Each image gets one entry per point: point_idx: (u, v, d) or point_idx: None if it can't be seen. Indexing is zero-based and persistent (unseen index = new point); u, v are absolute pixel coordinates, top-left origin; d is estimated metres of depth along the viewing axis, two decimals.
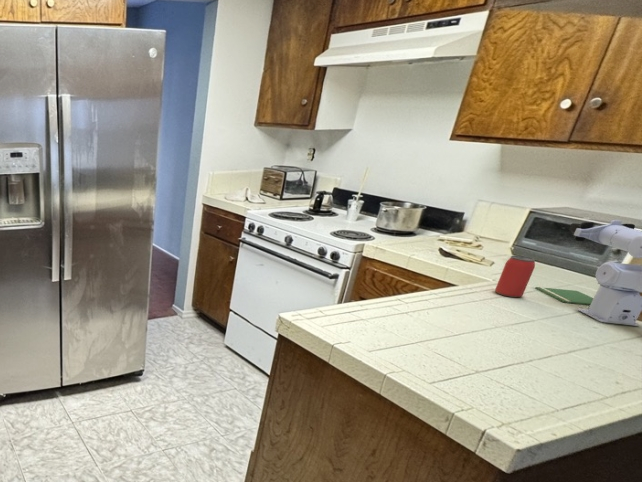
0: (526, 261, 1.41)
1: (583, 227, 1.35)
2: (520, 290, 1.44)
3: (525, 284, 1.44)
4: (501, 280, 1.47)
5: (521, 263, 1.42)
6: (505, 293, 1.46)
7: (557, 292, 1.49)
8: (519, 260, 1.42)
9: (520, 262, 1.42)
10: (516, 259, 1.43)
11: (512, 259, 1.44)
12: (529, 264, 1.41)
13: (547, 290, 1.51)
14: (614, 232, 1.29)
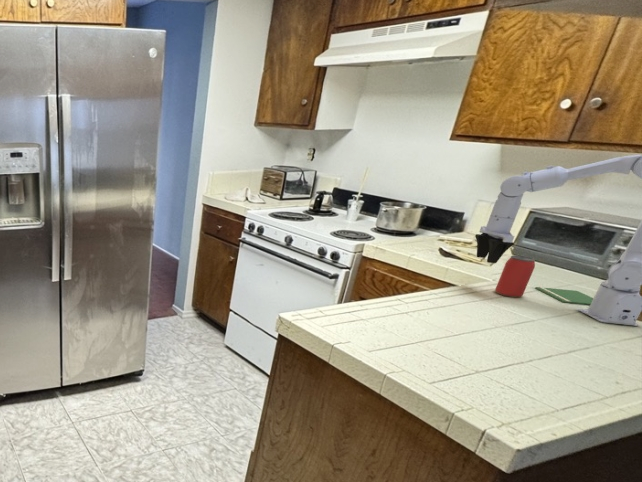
0: (526, 261, 1.41)
1: (498, 240, 1.40)
2: (520, 290, 1.44)
3: (525, 284, 1.44)
4: (501, 280, 1.47)
5: (521, 263, 1.42)
6: (505, 293, 1.46)
7: (557, 292, 1.49)
8: (519, 260, 1.42)
9: (520, 262, 1.42)
10: (516, 259, 1.43)
11: (512, 259, 1.44)
12: (529, 264, 1.41)
13: (547, 290, 1.51)
14: (500, 218, 1.40)
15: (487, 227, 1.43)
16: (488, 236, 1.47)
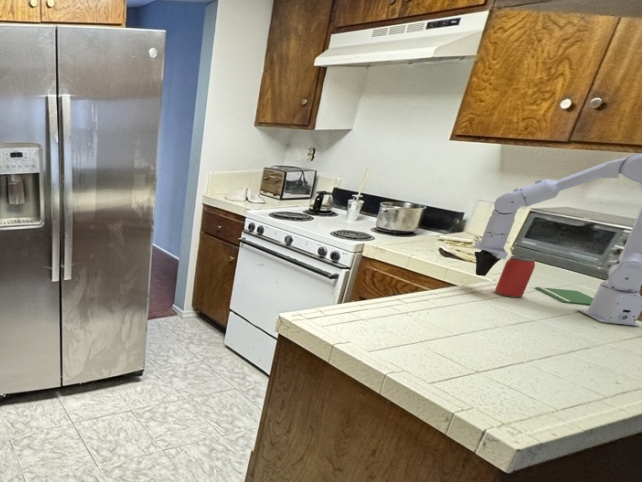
0: (526, 261, 1.41)
1: (487, 254, 1.44)
2: (520, 290, 1.44)
3: (525, 284, 1.44)
4: (501, 280, 1.47)
5: (521, 263, 1.42)
6: (505, 293, 1.46)
7: (557, 292, 1.49)
8: (519, 260, 1.42)
9: (520, 262, 1.42)
10: (516, 259, 1.43)
11: (512, 259, 1.44)
12: (529, 264, 1.41)
13: (547, 290, 1.51)
14: (494, 235, 1.42)
15: (481, 243, 1.45)
16: None
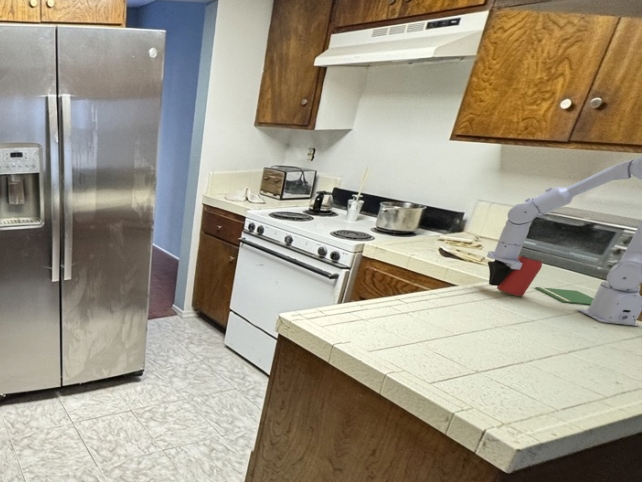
0: (535, 260, 1.41)
1: (501, 264, 1.44)
2: (522, 289, 1.44)
3: (528, 284, 1.43)
4: None
5: (529, 262, 1.41)
6: (507, 290, 1.46)
7: (557, 292, 1.49)
8: (528, 258, 1.42)
9: (529, 260, 1.41)
10: (525, 257, 1.42)
11: (521, 257, 1.43)
12: (537, 264, 1.41)
13: (547, 290, 1.51)
14: (508, 245, 1.41)
15: (495, 253, 1.45)
16: None
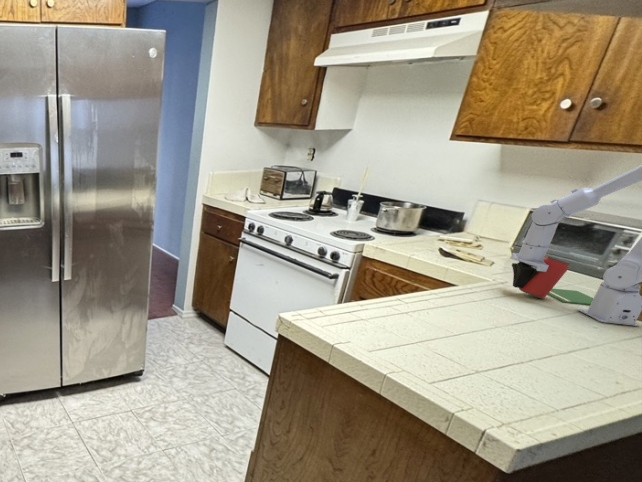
0: (562, 262, 1.39)
1: (526, 266, 1.42)
2: (545, 291, 1.42)
3: (552, 286, 1.42)
4: None
5: (556, 263, 1.39)
6: (529, 291, 1.44)
7: (557, 292, 1.49)
8: (555, 260, 1.40)
9: (556, 262, 1.40)
10: (552, 258, 1.40)
11: (548, 258, 1.41)
12: (563, 266, 1.39)
13: None
14: (534, 247, 1.40)
15: (520, 255, 1.43)
16: None
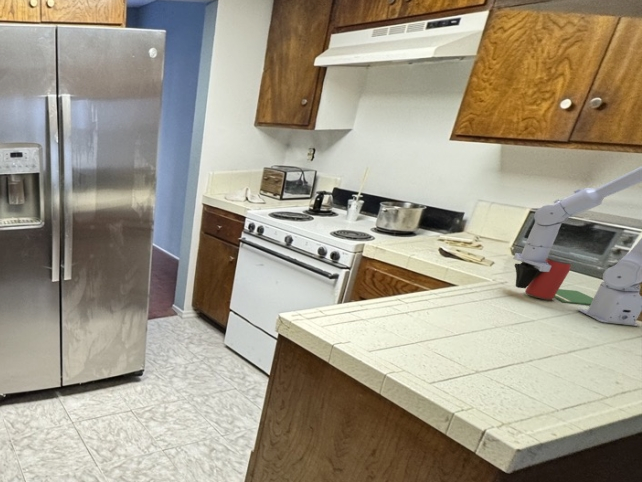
0: (562, 263, 1.39)
1: (528, 267, 1.42)
2: (552, 292, 1.42)
3: (557, 287, 1.41)
4: (533, 281, 1.45)
5: (557, 265, 1.40)
6: (536, 294, 1.44)
7: (557, 292, 1.49)
8: (555, 261, 1.40)
9: (556, 263, 1.40)
10: (552, 260, 1.40)
11: (548, 260, 1.42)
12: (565, 266, 1.39)
13: None
14: (537, 247, 1.40)
15: (522, 255, 1.43)
16: None
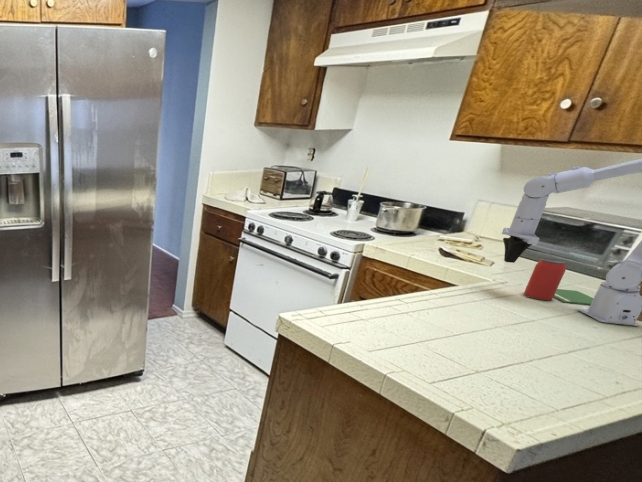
0: (557, 264, 1.39)
1: (517, 240, 1.41)
2: (550, 293, 1.42)
3: (555, 287, 1.41)
4: (530, 283, 1.45)
5: (551, 266, 1.40)
6: (534, 296, 1.44)
7: (557, 292, 1.49)
8: (549, 262, 1.40)
9: (551, 264, 1.40)
10: (546, 261, 1.41)
11: (542, 261, 1.42)
12: (560, 267, 1.39)
13: None
14: (525, 220, 1.38)
15: (511, 229, 1.42)
16: None
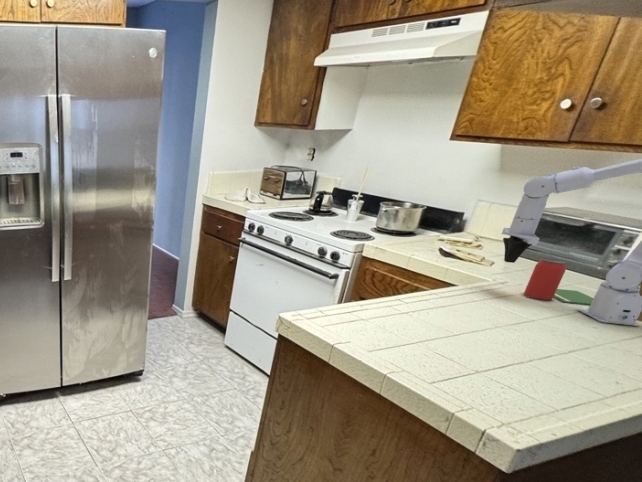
0: (557, 264, 1.39)
1: (517, 240, 1.41)
2: (550, 293, 1.42)
3: (555, 287, 1.41)
4: (530, 283, 1.45)
5: (551, 266, 1.40)
6: (534, 296, 1.44)
7: (557, 292, 1.49)
8: (549, 262, 1.40)
9: (551, 264, 1.40)
10: (546, 261, 1.41)
11: (542, 261, 1.42)
12: (560, 267, 1.39)
13: None
14: (525, 220, 1.38)
15: (511, 229, 1.42)
16: None
